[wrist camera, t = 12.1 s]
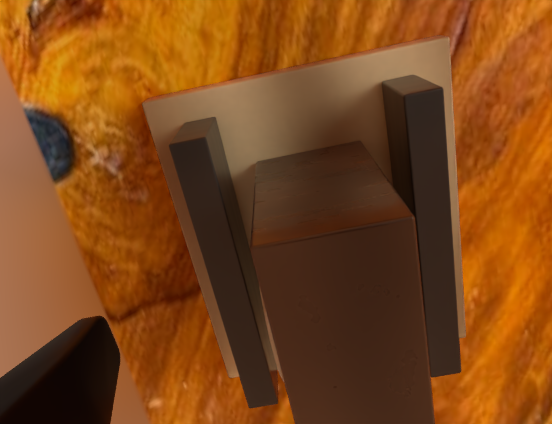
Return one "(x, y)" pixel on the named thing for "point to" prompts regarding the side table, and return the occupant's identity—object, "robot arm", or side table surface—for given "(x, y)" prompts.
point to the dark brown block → (341, 288)
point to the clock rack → (304, 137)
